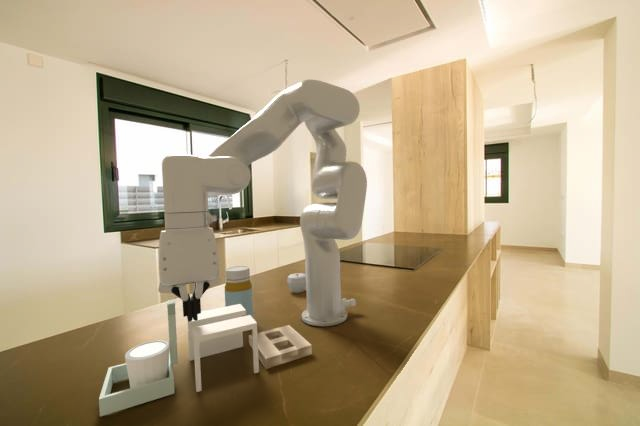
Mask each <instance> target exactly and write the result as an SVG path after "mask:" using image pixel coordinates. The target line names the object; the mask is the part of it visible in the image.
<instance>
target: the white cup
mask: <svg viewBox="0 0 640 426" xmlns="http://www.w3.org/2000/svg"><path fill="white" fill-rule="evenodd" d="M169 352H170V344H169V341H167V340H160V339H158V340H151V341H147V342H143V343H140V344H137V345H135V346H134V347H132V348H130V349H129V350H127V351H126V352H125V355H124V359H125V363H126V366H127V372H128V377H129V378H128V381H129V387H130V388H133V387H137V386H140V385H144V384H147V383H151V382H154V381H158V380H161V379H165V378H168V377H169ZM130 388H129V389H130Z"/></svg>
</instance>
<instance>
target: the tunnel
mask: <svg viewBox="0 0 640 426" xmlns="http://www.w3.org/2000/svg"><path fill="white" fill-rule="evenodd" d="M243 315H246V310H245V309H244V307H243V306H242V305H241V304H237V305H232V306H227V307H225V306H222V307H218V308H211V309H207V310H201V313H200V314H198V320H196V321H195V320H192V321H191V322H188V318H187V336H188V354H189V355H188V356H189V361H193V360H194V377H195V378H194V380H195V390H196V393H199V392H201V391H202V390H203V389H202V376H201V375H202V373H201V358H206V357H210V356H213V355H216V354H220V353H224V352H228V351H232V350H236V349H239V348H242V347H244V338H243V337H244V336H243V334H244V333H243V332H247V331H250V330H251V335H252V343H253V349H252V360H253V361H252V363H253V373H254V374H258V373H260V364H259V361H260V359H259V358H258V335H257V333H258V323H257V321H256V319H254V317H253V318H252V317H251V315H247V316H243ZM242 316H243V317H242Z"/></svg>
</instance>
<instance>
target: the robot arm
mask: <svg viewBox="0 0 640 426" xmlns="http://www.w3.org/2000/svg"><path fill="white" fill-rule="evenodd" d="M360 110H361V109H360V103H359V100H358V98H357V96H356V95H355V94H354V93H353V92H352V91H350V90H349V89H346V88H344V87H341V86H338V85H335V84H332V83H328V82H326V81H322V80H317V79H305V80H302V81H300V82H298V83H296V84H294V85H292V86H290V87H288V88H286V89H284V90H283V91H281V92H280V93H278V94H277V95H276V96H275V97H274V98H273V99H272V100H271V101H270V102H268V104H267V105H266V106H264V108H262V110H260V111H259V112H258V113H257V114H256V115H255V116H254V117H253V118H252V119H251V120H249V121H247V123H246V124H244V125H243V126H242V127H240V128H239V129H238V130H237V131H236V132H234V134H232V135H231V136H230V137H229V138H228V139H226V140H224V141H223V142H222V143H221V144H220V145H218V146H217V147H216V148H215V149H214V150H213V151H212V152H211V153H210V154H207V156H205V157H201V156H198V155H194V154H183V153H182V154H171V155H167V156H165V157H164V158H163V160H162V161H161V173H162V177H161V178H162V190H163V191H162V192H163V193H162V195H163V211H164V230H160V234H159V240H158V276H159V284H158V288H157V291H158V293H160V294H173V295H175V297H178V298H179V299H180V300H181V301H182V316H183V318H184V317H187V318H188V320H187V323H188V322H191V321H192V320H195V321H196V320H198V314H200V313H201V311H202V309H201V308H202V305H201V298H202V297H203V295H204V294H205V293H206V292H207V290H208V289H209V288H211V287H214V286H216V285H219V284H220V283H221V278H220V266H219V265H220V264H219V262H220V261H219V254H218V248H217V247H218V246H217V242H216V241H217V240H216V236H215V231H214V229H213V227H210V226H211V225H210V224H211V223H213V222H217V220H218V218H217V214H211V213H210V211H209V197H216V196H217V197H218V196H228V195H235V194H238V193H240V192H242V191H244V190H245V189H246V188H247V187H248V186H249V184H250V181H251V177H252V176H251V170H250V168H249V165H251V164H252V163H254V162H256V161H258V160H260V159H262V158H265V157H267V156H269V155H270V154H272V153H273V152H275V151H277V150H278V149H279V148H280V147H281V146H282V144H283V143H285V141H286V140H287V139H288V138H289V136H291V134H293V132H294V131H296V129H297V128H298V127H299V126H300V125H302V123H304V125H305V126H306V128H307V130H308V131H309V133H310V134H311V136H312V138H313V140H314V143H315V146H316V155H315V160H314V166H313V173H312V178H311V191H312V193H313V195H314V196H315V197H317V198H319V199H323V200H336V202H316V203H312V204H309V205H307V206H306V207H305V208H303V210H302V212H301V213H300V218H299V224H300V225H299V226H300V230H301V234H302V238H303V247H304V260H305V261H304V262H305V263H304V265H305V274H306V288H305V290H306V295H305V296H306V309H305V310H304V311H302V313H301V320H302V321H303V323H305V324H307V325H310V326H314V327H331V326H332V327H333V326H336V325H340V324H342V323H344V322H345V321H346V320H347V319H348V312H347V310H346V309H347V308H348V307H354V306H357V305H356V304H357V301H356V299H355V298H350V299H348V298H346V297H343V298H342V289H341V288H342V286H341V284H342V283H341V256H340V255H341V253H340V250H339V246H338V244H337V242H336V240H342V241H346V240H348V241H349V240H352V239H354V238H355V237H356V236H357V235H358V234H359V232H360V230H361V228H362V224H363V219H364V218H363V217H364V212H365V203H366V198H367V196H366V195H367V189H368V179H367V174H366V171H365V169H364V167H363V166H362V165H361V164H360V163H358V162H356V161H351V160H349V161H346V160H347V147H346V144H345V141H344V140H343V139H342V137H341V136H340V134H339V132H338V131H337V130H336V129H340V128H342V127H346V126H349V125H351V124H353V123H354V122H355V121H357V119H358V117H359V116H360V113H361V112H360ZM189 284H194V287H193V292H192V295H190V294H189V293H188V288H187V285H189Z"/></svg>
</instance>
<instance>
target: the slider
mask: <svg viewBox="0 0 640 426" xmlns="http://www.w3.org/2000/svg"><path fill="white" fill-rule="evenodd" d="M166 305H167V321H168V323H167V324H168V342H169V344H170V349H169V371H168V378H165V379H161V380H158V381H154V382H151V383H147V384H144V385H140V386H137V387H133V388H126V389H123V390H120V391H116V392H112V388H113V384H114V383H117V382H119V381H123V380H127V379H128V380H129V377H128V372H127V366H126V362H125V363H121V364H117V365H114V366H108V368H107V373H106V375H105V377H104V381H103V385H102V388H101V391H100V394H99V398H98V407H99V408H98V409H99V417H103V416H106V415H110V414H113V413H116V412H120V411H122V410H125V409H128V408H132V407H135V406H139V405H141V404H144V403H147V402H148V403H149V402H152V401H155V400H157V399H161V398H164V397H167V396H171V395H174V394H175V379H174V378H175V377H174V365H178V364H179V360H178V355H179V354H178V339H177V338H178V337H177V321H176V320H177V319H176V301H175V299H174V298H173V299H167V301H166ZM111 392H112V393H111Z"/></svg>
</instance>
